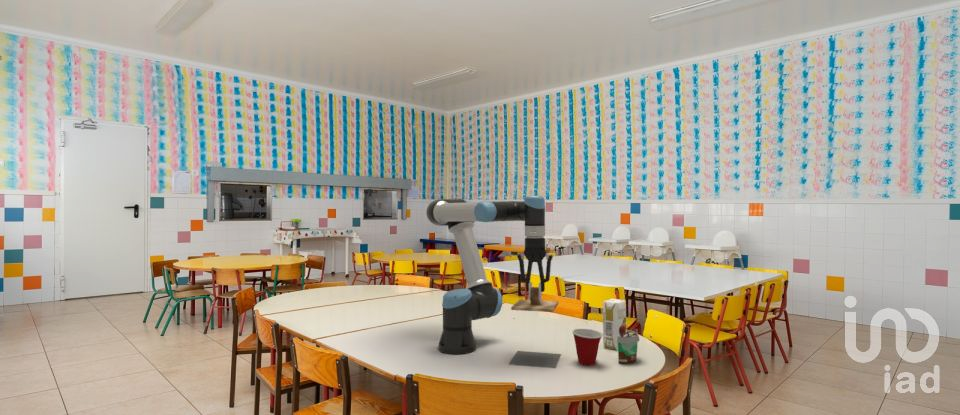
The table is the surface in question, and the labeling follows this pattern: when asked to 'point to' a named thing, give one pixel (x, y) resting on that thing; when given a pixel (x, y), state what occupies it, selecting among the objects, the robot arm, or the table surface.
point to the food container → (627, 347)
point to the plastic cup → (587, 345)
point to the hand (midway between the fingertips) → (535, 300)
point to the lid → (535, 303)
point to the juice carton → (613, 322)
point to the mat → (535, 359)
